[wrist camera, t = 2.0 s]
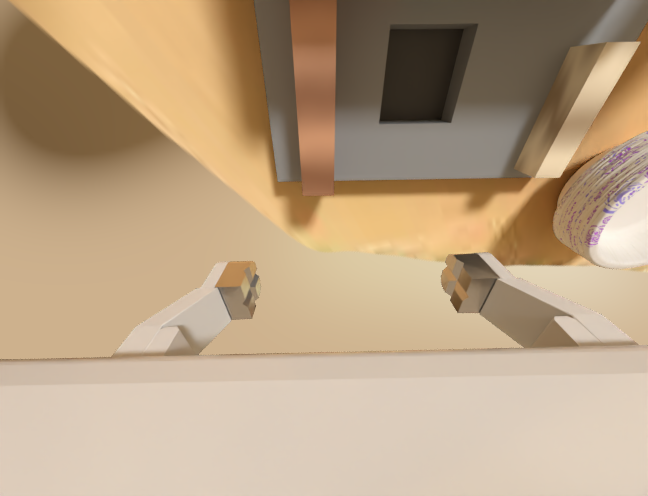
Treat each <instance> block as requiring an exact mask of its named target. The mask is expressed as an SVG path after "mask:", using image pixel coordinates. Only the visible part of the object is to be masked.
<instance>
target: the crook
mask: <svg viewBox="0 0 648 496" xmlns="http://www.w3.org/2000/svg"><path fill="white" fill-rule="evenodd" d="M289 4H290V19H291V33H292V48H293V62H294V76H295V91H296V105H297V120H298V134H299V148H300V163H301V177H302V191H303V196H324V195H334V153H335V85H336V17H337V0H289Z"/></svg>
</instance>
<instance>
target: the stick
mask: <svg viewBox="0 0 648 496" xmlns="http://www.w3.org/2000/svg"><path fill="white" fill-rule="evenodd" d="M640 43H641V42H604V43H597V44H589V45H582V46H575V47H570V49H569V51H568V54H567V56H566V58H565V60H564V62H563V64H562V66H561V68H560V71H559V73H558V75H557V77H556V79H555V81H554V83H553V86H552V88H551V90H550V92H549V94H548V96H547V98H546V101H545V103H544V105H543V107H542V109H541V111H540V113H539V115H538V118H537V120H536V122H535V124H534V126H533V128H532V130H531V133H530V135H529V137H528V139H527V141H526V143H525V145H524V148H523V150H522V152H521V154H520V156H519V158H518V160H517V162H516V165H515V167H514V169H515V170H518V171H520V172H522V173H524V174H527V175H529V176H531V177H533V178H560V176H561V175H562V173H563V171H564V170H565V168H566V166H567V165H568V163H569V161H570V160H571V158H572V156H573V155H574V153H575V151H576V150H577V148H578V146H579V145H580V143H581V141H582V140H583V138H584V136H585V135H586V133H587V131H588V130H589V128H590V126H591V125H592V123H593V121H594V120H595V118H596V116H597V115H598V113H599V111H600V110H601V108H602V106H603V105H604V103H605V101H606V100H607V98H608V96H609V95H610V93H611V91H612V90H613V88H614V86H615V85H616V83H617V81H618V80H619V78H620V76H621V74H622V73H623V71H624V69H625V68H626V66H627V64H628V63H629V61H630V59H631V58H632V56H633V54H634V53H635V51H636V49H637V48H638V46H639V44H640Z"/></svg>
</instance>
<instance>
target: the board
mask: <svg viewBox="0 0 648 496" xmlns="http://www.w3.org/2000/svg"><path fill="white" fill-rule="evenodd" d="M254 6H255V14H256V21H257V29H258V37H259V44H260V52H261V59H262V67H263V74H264V82H265V89H266V97H267V105H268V112H269V120H270V127H271V135H272V142H273V150H274V157H275V165H276V172H277V180H278V182H290V181H302V177H301V163H300V148H299V134H298V120H297V105H296V91H295V76H294V62H293V48H292V33H291V19H290V4H289V0H254ZM647 22H648V0H337V17H336V85H335V153H334V181H348V180H407V179H465V178H524V177H531V176H529V175H527V174H524V173H522V172H520V171H518V170H515V169H514V167H515V165H516V162H517V160H518V158H519V156H520V154H521V152H522V150H523V148H524V145H525V143H526V141H527V139H528V137H529V135H530V133H531V130H532V128H533V126H534V124H535V122H536V120H537V118H538V115H539V113H540V111H541V109H542V107H543V105H544V103H545V101H546V98H547V96H548V94H549V92H550V90H551V88H552V86H553V83H554V81H555V79H556V77H557V75H558V73H559V71H560V68H561V66H562V64H563V62H564V60H565V58H566V56H567V54H568V51H569V49H570V47H575V46H582V45H589V44H597V43H604V42H636V40H637V39H638V37H639V35H640V34H641V32H642V30H643V28H644V27H645V25H646V23H647Z"/></svg>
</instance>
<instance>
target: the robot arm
mask: <svg viewBox="0 0 648 496" xmlns="http://www.w3.org/2000/svg"><path fill="white" fill-rule="evenodd" d="M445 263H446V264H447V267H446V268H445V269H444V270H443V271H442V275H441V283H442V287H443V289H444V290H445V292H446V293H448V294H449V295H450V296H451V299H450V301H451V303H452V304H453V306H454V308H455V309H456V311H457V312H458V313H480V315H482V316H483V317H484V318H486V319H487V320H488V321H489V322H491V323H492V324H494V325H495V326H496V327H497V328H499V329H500V330H501V331H503V332H504V333H506V334H507V335H508V336H509V337H511V338H512V339H513V340H515V341H516V342H517V343H519V344H520V345H521V346H523V347H524V348H493V349H453V350H451V349H449V350H406V351H363V352H362V351H361V352H318V353H277V354H233V355H232V354H230V355H198V354H199V353H200V352H201V351H202V350H203V349H204V348H205V347H206V346H207V345H208V344H209V343H210V342H211V341H212V340H213V339H214V338H215V337H216V336H217V335H218V334H219V333H220V332H221V331H222V330H223V329H224V328H225V327H226V326H227V325H228V324H229V323H230V322H231V320H236V319H252V317H253V314H254V311H255V307H256V305H255V300H257V299H258V298H259V295H260V288H261V284H260V278H259V276H258V275H256V274H255V272H256V269H257V268H256V264H255V262H253V261H231V262H218V263H216V264H215V266H214V267H213V269H212V270H211V272H210V274H209V275H208V277H207V278H206V280H205V282H204V283H203V285H202V286H201V288H196V289H195V290H193V291H191V292H190V293H189V294H187V295H185V296H184V297H182V298H180V299H179V300H177V301H176V302H174V303H172V304H171V305H169V306H168V307H166V308H165V309H163V310H161V311H160V312H158V313H156V314H155V315H153V316H152V317H150V318H149V319H147V320H145V321H144V322H142V323H141V324H139V325H137V326H136V327H135V328H134V329H133V330H132V332H131V333H130V334H129V335H128V337H127V338H126V339H125V341H124V342H123V343H122V344H121V345H120V347H119V348H118V349H117V350H116V352H115V353H114V354H113V355H112V357H102V358H101V357H100V358H60V359H13V360H12V359H2V360H1V359H0V496H648V345H638V344H637V343H636V342H635V341H633V340H632V339H631V338H630V337H629V336H627V335H626V334H625V333H624V332H622V331H621V330H620V329H619V328H618V327H616V326H615V325H614V324H613V323H611V322H610V321H609V320H608V319H607V318H605V317H604V316H603V315H602V314H600V313H597V312H595V311H593V310H591V309H588V308H586V307H584V306H581V305H579V304H577V303H575V302H572V301H570V300H568V299H566V298H564V297H561V296H559V295H557V294H555V293H552V292H550V291H548V290H546V289H543V288H541V287H539V286H537V285H535V284H532V283H530V282H528V281H526V280H523V279H521V278H515V277H514V276H513V275H512V274H511V273H510V272H509V271H508V270H507V269H506V268H505V267H504V266H503V265H502V264H501V263H500V262H499V261H498V260H497V259H496V258H495V257H494V256H493V255H492V254H490V253H488V252H483V253H474V254H449V255H448V257H447V258H446V261H445Z"/></svg>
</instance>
